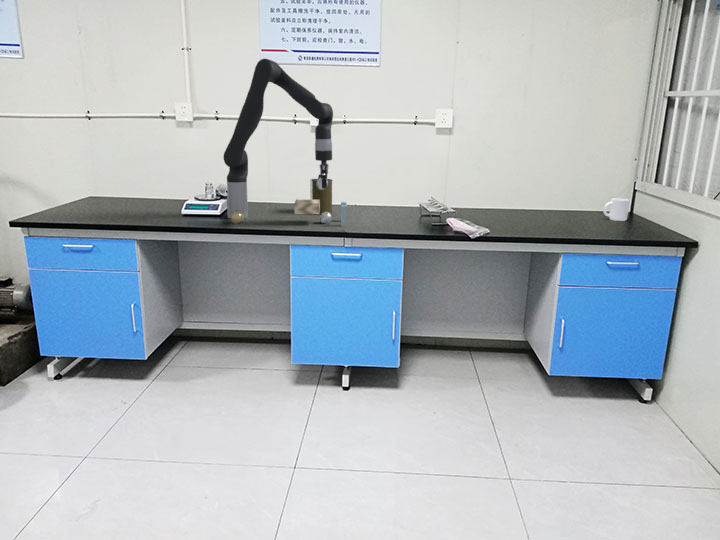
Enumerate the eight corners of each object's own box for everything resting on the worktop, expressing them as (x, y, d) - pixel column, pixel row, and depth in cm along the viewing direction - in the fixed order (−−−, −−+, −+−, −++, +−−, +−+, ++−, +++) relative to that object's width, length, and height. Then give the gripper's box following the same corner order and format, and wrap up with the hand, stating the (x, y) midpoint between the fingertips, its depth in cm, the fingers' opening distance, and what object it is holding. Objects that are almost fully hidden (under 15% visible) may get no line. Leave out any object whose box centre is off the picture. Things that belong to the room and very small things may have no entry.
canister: (333, 212, 288) (333, 173, 282) (330, 216, 278) (330, 175, 272) (313, 212, 289) (312, 173, 283) (309, 215, 279) (308, 175, 273)
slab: (294, 214, 250) (294, 203, 249) (296, 210, 262) (296, 199, 261) (319, 214, 251) (319, 203, 250) (319, 210, 262) (319, 199, 261)
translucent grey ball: (329, 211, 254) (333, 222, 255) (329, 209, 260) (333, 219, 261) (318, 215, 254) (322, 226, 255) (318, 213, 260) (322, 223, 261)
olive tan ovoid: (239, 225, 253) (229, 222, 253) (242, 222, 259) (231, 219, 259) (242, 215, 252) (232, 211, 252) (244, 212, 258) (234, 209, 258)
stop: (341, 225, 252) (341, 206, 249) (340, 220, 265) (341, 201, 263) (346, 226, 252) (347, 206, 249) (346, 220, 265) (346, 201, 263)
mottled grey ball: (317, 177, 249) (328, 179, 250) (317, 176, 255) (328, 178, 255) (315, 189, 250) (327, 190, 251) (316, 187, 256) (327, 189, 257)
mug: (605, 220, 277) (607, 200, 274) (598, 218, 285) (601, 198, 282) (629, 221, 277) (632, 200, 274) (622, 218, 285) (625, 198, 282)
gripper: (315, 148, 256) (316, 185, 260) (314, 150, 242) (315, 189, 246) (332, 148, 256) (333, 185, 260) (331, 150, 242) (332, 188, 247)
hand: (324, 187), depth 253 cm, fingers closed on mottled grey ball, 5 cm apart
